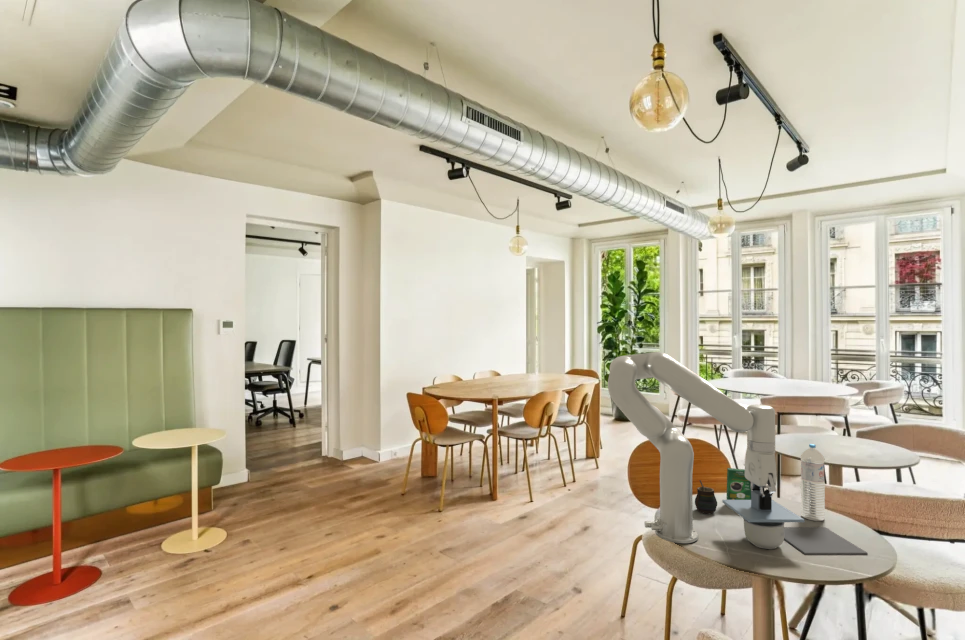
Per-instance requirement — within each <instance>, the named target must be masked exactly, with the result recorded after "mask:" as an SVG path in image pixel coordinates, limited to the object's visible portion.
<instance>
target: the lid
mask: <svg viewBox="0 0 965 640" xmlns="http://www.w3.org/2000/svg"><path fill="white" fill-rule="evenodd" d="M760 496H761V490H751V500H727V499H722V500H721V503H723V504H724V505H725V506H726V507H728V508H729V509H730V510H732V511H733V512H735V513H736V514H737V515H738V516H740V517H741V518H744V519H745V520H747V521H748V522H784V523H805V518H804V517H802V516H800V515H798V514H797V513H795V512H793V511H791V510H789V509H788V508H786V507H785V506H783V505H782V504H780V503H778V502H777V501H776V500H774V499H772V498H773V496H772V497H771V510H761V509H760ZM744 519H743V520H744Z"/></svg>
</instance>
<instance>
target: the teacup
mask: <svg viewBox="0 0 965 640" xmlns="http://www.w3.org/2000/svg"><path fill="white" fill-rule="evenodd" d="M742 518H743V517H742ZM784 527H785V522H748V521H747V520H745V519H744V518H743V529H744V530H743V531H744V536H745V538H746V539H747V540H748V541H749V542H750V543H751V544H752V545H754V546H755V547H757V548H759V549H764V550H773V549H777V548H778V547H780V546H781V545H783V543H784V541H785V540H784Z"/></svg>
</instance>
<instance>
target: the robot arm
mask: <svg viewBox="0 0 965 640" xmlns="http://www.w3.org/2000/svg"><path fill="white" fill-rule="evenodd" d="M650 378H654V379H655V380H656V381H658V382H659V383H661V384H662V385H663V386H665V387H666V388H668V389H670V390H671V391H673V392H674V393H675V394H676V395H678V396H680V397H681V398H682V399H683V400H685V401H687V402H688V403H690V404H692V405H693V406H695V407H697V408H698V409H700V410H702V411H703V412H705V413H706V414H707V415H709V416H711V417H712V418H714V419H715V420H717V421H718V422H720V423H722V425H724V426H726V428H728V429H730V430H731V431H733V432H735V433H745V432H747V433H746V444H747V445H746V450H745V459H744V469H745V478H746V479H747V480H749V482H750V484H751V487H750V488H751V490H761V496H760V509H761V510H771V497H772V498H773V495H774V493H776V492H777V488H776V486H777V479H778V475H777V462H776V461H777V460H776V455H775V454H776V410H775V408H774V407H772V406H771V405H765V404H751V405H748V404H743V403H738V402H736V400H734V399H732V398H731V397H729V396H727V395H726V394H725V393H723V392H722V391H720V390H719V389H718V388H716V387H715V386H714V385H712V384H711V383H710V382H708V381H707V380H706V379H705V378H703V377H702V376H700V375H698V374H697V373H695V372H694V371H692V370H691V369H689V368H688V367H687V366H685V365H684V364H682V363H681V362H679V360H677V359H675V358H673V357H672V356H671V355H669V354H667V353H665V352H662V351H652V352H647V353H646V352H645V353H638V354H637V353H636V354H628V355H620V356H617V357H615V358H614V359H613V360H611V363H610V365H609V374H608V379H607V389H608V394H609V397H610V398H611V400H612V401H613V403H614V404H615V406H616V407H617V408H618V409H619V410H620V411H621V412H622V413H623V415H624V416H625V417H626V418H627V419H628V421H630V423H631V424H632V425H633V426H634V427H635V428H636V430H637V431H638V433H640V434H641V435H642V436H643V437H645V438H647V439H648V441H649V442H650V443H651V444H652V445H653V446H654V447H655V448H656V449H657V450H658V452H659V454H660V461H659V463H660V464H659V517H658V516H657V517H656V519H655V520H654V521H651V520H647V521H644V528H647V529H649V528H650V529H651V531H654V534H655V535H656V536H657V537H658V538H660V539H661V540H664V541H666V542H670V543H675V544H692V543H695V542H696V541H698V539H699V534H698V532H697V531H696V530H695V529H694V528H693V521H694V520H693V469H694V461H695V459H694V458H695V457H694V456H695V453H694V448H693V445H692V444H691V441H689V439H688V437H686V436H685V435H684V434H683V433H682V431H680V430H679V428H678V427H677V426H676V425H675V424H674V423H673V422H672V421H671V420H670V419H669V418H668V417H667V416H666V414H664V413H663V412H662V411H661V410H660V409H659V408H658V407H657V406H655V405H654V404H652V403H651V402H650V401H649V400H648V399H647V398H646V397H645V395H643V394H642V392H641V391H639V389H638V388H637V385H636V380H643V379H650Z"/></svg>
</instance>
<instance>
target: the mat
mask: <svg viewBox="0 0 965 640" xmlns="http://www.w3.org/2000/svg"><path fill="white" fill-rule="evenodd" d="M784 541H785V542H787V543H788V544H790V545H791V546H793V548H795V549H796V550H798V551H800V552H801V553H802V554H804V555H808V556H809V555H811V556H812V555H813V556H814V555H828V556H829V555H836V556H837V555H850V556H851V555H859V556H860V555H867V556H868V551H865V550H864V549H862V548H861V547H858V546H857V545H856V544H853V543H852V542H851V541H848V540H847V539H845V538H844V537H842V536H841V535H839V534H837V533H835V532H834V531H832V530H831V529H829V528H827V527H826V526H817V527H816V526H810V527H809V526H805V527H804V526H786V527H785V526H784Z"/></svg>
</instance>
